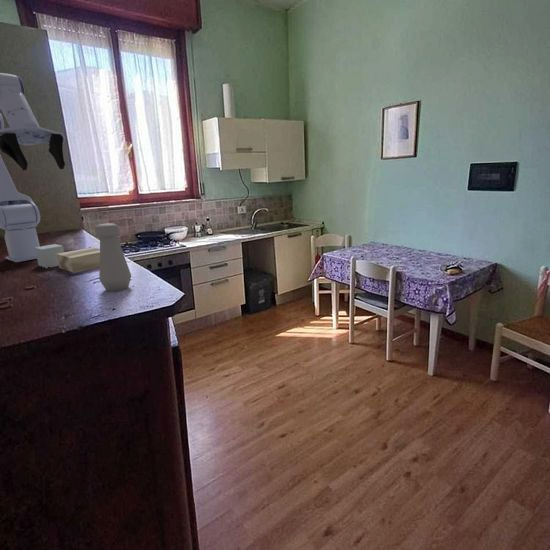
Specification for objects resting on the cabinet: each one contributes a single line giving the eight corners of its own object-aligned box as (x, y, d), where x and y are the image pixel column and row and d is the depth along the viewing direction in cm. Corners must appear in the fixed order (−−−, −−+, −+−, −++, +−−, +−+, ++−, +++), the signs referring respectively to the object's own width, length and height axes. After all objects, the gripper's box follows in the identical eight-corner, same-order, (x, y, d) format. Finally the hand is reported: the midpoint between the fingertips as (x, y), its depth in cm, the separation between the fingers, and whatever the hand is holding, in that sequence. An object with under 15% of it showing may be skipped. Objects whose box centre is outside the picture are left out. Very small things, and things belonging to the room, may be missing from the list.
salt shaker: (137, 283, 74) (128, 221, 71) (124, 293, 69) (112, 225, 65) (111, 284, 75) (100, 222, 71) (95, 293, 70) (82, 226, 66)
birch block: (59, 269, 91) (56, 253, 90) (95, 261, 98) (92, 247, 97) (74, 274, 86) (70, 258, 85) (110, 266, 92) (108, 250, 91)
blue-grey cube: (38, 266, 95) (34, 247, 93) (59, 261, 98) (55, 244, 97) (46, 268, 92) (41, 249, 90) (66, 264, 95) (62, 245, 94)
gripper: (-17, 102, 75) (9, 155, 73) (57, 108, 86) (81, 155, 84) (-19, 126, 80) (5, 176, 78) (52, 129, 90) (74, 173, 89)
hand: (44, 167), depth 81 cm, fingers open, 7 cm apart
